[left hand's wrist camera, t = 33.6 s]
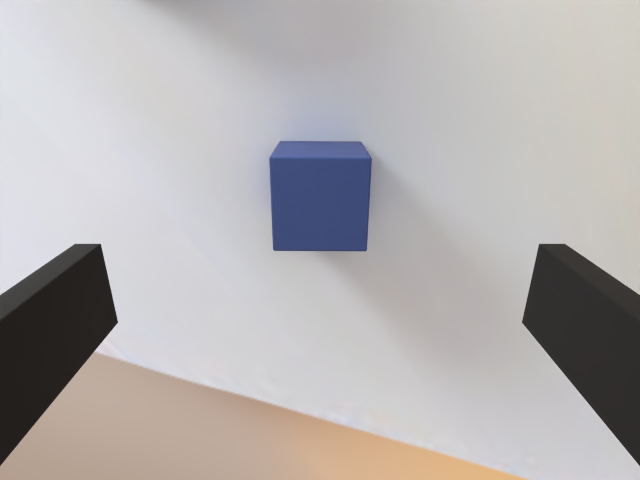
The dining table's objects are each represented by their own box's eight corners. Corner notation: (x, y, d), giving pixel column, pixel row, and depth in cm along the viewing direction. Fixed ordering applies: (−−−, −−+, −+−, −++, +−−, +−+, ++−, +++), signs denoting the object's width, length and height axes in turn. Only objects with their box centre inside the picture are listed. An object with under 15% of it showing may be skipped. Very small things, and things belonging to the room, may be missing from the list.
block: (361, 141, 23) (371, 157, 19) (358, 219, 25) (366, 251, 21) (279, 141, 23) (269, 157, 19) (281, 219, 25) (273, 251, 21)
